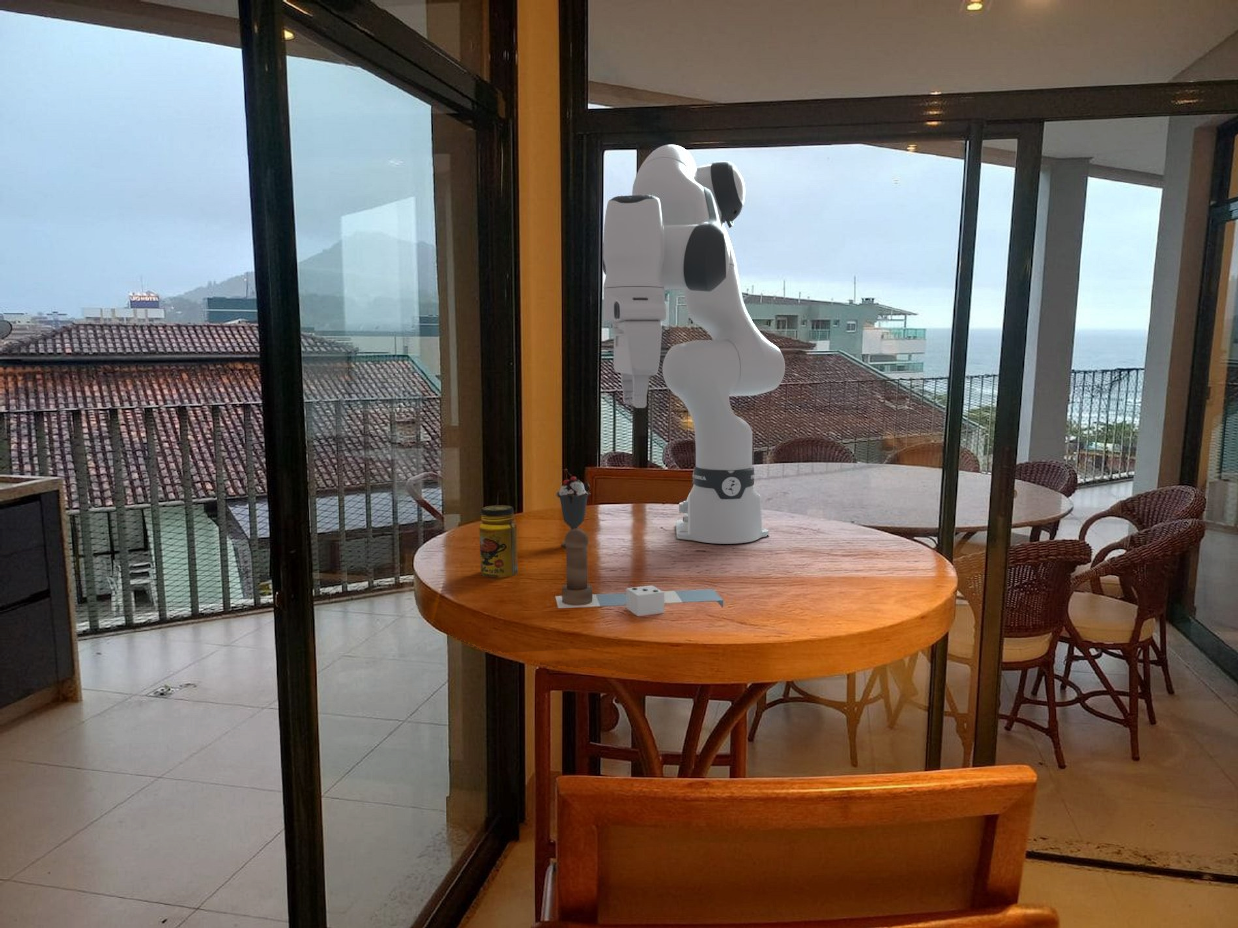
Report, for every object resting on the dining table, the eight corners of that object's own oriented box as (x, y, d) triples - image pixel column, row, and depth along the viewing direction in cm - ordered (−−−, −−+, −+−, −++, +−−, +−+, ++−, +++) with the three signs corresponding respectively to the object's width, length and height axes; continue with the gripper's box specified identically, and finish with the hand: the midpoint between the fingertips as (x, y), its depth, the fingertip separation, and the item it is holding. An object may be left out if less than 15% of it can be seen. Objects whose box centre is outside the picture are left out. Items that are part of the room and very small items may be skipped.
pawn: (561, 597, 127) (559, 526, 126) (590, 595, 128) (589, 525, 126) (563, 605, 123) (562, 532, 121) (593, 604, 123) (593, 531, 122)
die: (626, 615, 122) (626, 587, 121) (652, 612, 123) (652, 584, 123) (637, 623, 118) (637, 594, 118) (664, 620, 120) (664, 591, 119)
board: (555, 602, 128) (555, 596, 128) (713, 595, 131) (713, 589, 131) (558, 614, 122) (558, 607, 122) (723, 606, 125) (723, 600, 125)
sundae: (552, 548, 164) (551, 469, 162) (563, 540, 170) (561, 465, 168) (585, 549, 162) (584, 470, 160) (595, 542, 168) (594, 466, 166)
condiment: (474, 584, 138) (472, 511, 137) (483, 571, 147) (481, 502, 145) (520, 584, 138) (518, 511, 137) (526, 571, 147) (524, 501, 145)
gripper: (603, 312, 134) (604, 401, 136) (622, 305, 114) (622, 410, 115) (643, 312, 135) (644, 401, 136) (668, 306, 114) (668, 409, 116)
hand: (634, 405), depth 126 cm, fingers open, 8 cm apart
